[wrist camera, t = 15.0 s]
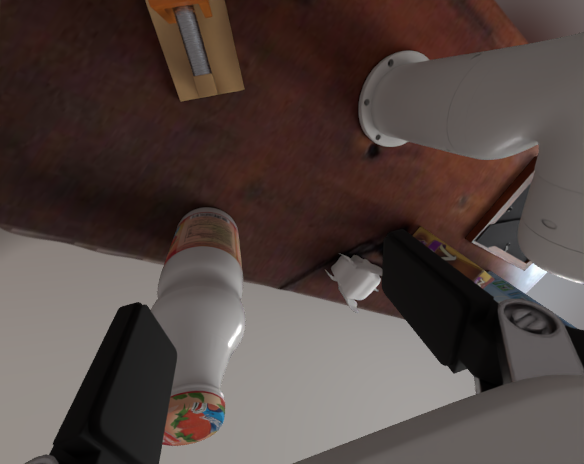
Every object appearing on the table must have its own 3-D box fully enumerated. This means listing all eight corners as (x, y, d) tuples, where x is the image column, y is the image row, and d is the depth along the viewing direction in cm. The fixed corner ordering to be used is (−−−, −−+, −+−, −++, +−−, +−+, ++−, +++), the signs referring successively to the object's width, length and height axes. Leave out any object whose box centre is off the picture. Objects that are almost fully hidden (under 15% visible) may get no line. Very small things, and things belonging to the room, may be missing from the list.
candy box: (419, 224, 51) (486, 269, 38) (430, 233, 53) (497, 279, 40) (389, 257, 53) (443, 310, 40) (401, 264, 55) (456, 317, 42)
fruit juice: (247, 242, 43) (275, 425, 19) (196, 264, 43) (162, 476, 19) (222, 196, 38) (220, 365, 14) (164, 219, 38) (66, 432, 14)
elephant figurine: (342, 235, 47) (365, 262, 40) (380, 259, 53) (407, 287, 45) (312, 271, 50) (327, 303, 42) (351, 291, 55) (371, 322, 48)
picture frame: (465, 238, 56) (517, 266, 66) (472, 242, 54) (525, 271, 64) (535, 156, 49) (581, 202, 60) (546, 158, 48) (592, 205, 58)
